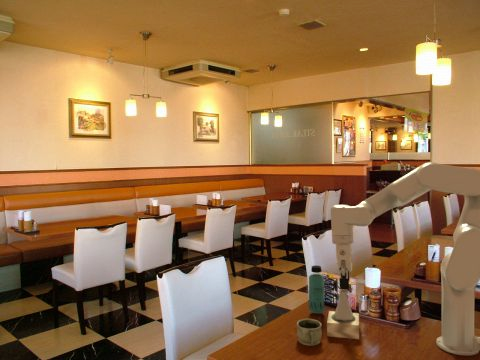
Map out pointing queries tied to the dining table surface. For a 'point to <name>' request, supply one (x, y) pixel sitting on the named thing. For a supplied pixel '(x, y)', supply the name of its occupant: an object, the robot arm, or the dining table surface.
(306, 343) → the vessel
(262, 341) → the dining table surface
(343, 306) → the flask
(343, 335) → the pedestal
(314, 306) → the beverage bottle
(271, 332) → the dining table surface
